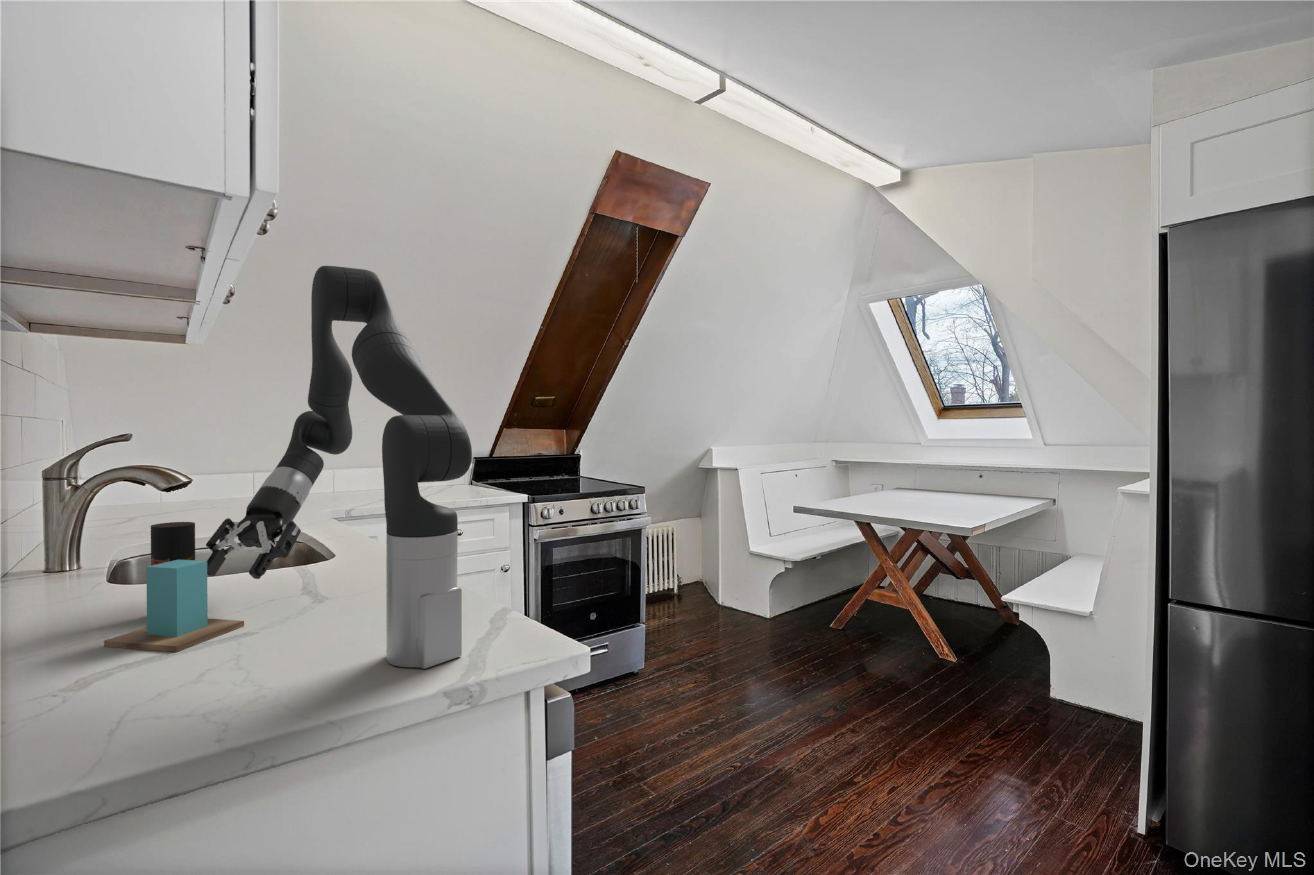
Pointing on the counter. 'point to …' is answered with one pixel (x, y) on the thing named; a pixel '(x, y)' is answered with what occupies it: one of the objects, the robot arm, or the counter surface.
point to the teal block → (176, 597)
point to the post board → (170, 643)
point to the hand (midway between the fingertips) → (230, 574)
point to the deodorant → (172, 542)
